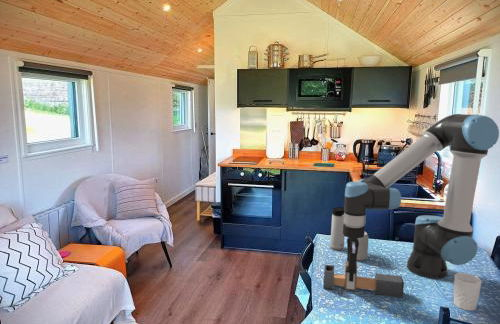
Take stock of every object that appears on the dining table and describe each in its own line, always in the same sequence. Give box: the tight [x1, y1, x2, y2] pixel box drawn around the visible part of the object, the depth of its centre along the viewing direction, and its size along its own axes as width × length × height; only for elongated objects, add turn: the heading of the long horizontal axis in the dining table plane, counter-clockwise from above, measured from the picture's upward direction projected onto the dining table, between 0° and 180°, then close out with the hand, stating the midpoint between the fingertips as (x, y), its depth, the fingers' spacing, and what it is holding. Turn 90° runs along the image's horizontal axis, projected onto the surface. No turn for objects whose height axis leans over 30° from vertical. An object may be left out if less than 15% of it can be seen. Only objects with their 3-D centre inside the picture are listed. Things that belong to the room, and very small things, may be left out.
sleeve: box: [374, 272, 405, 299], centre depth 130 cm, size 9×5×6 cm, turn 77°
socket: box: [323, 264, 335, 291], centre depth 134 cm, size 4×6×7 cm, turn 167°
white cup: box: [453, 272, 482, 312], centre depth 122 cm, size 8×8×10 cm
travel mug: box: [329, 206, 346, 252], centre depth 169 cm, size 6×7×20 cm
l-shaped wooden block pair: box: [333, 260, 377, 291], centre depth 132 cm, size 18×4×9 cm, turn 77°
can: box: [357, 231, 370, 262], centre depth 159 cm, size 8×8×12 cm
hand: (349, 285), depth 133 cm, fingers closed on l-shaped wooden block pair, 4 cm apart
